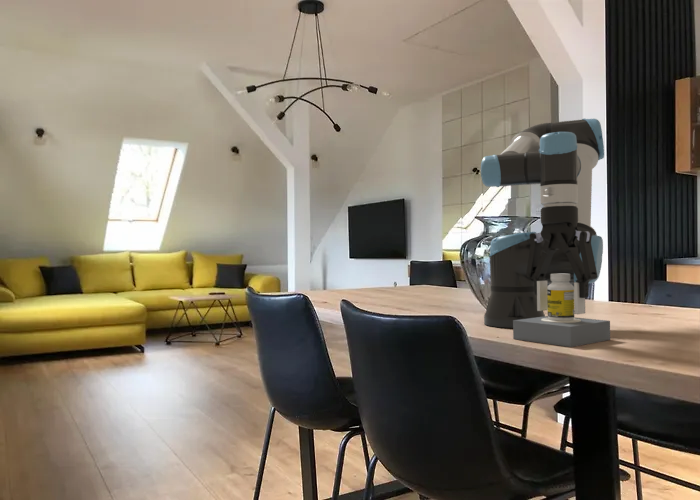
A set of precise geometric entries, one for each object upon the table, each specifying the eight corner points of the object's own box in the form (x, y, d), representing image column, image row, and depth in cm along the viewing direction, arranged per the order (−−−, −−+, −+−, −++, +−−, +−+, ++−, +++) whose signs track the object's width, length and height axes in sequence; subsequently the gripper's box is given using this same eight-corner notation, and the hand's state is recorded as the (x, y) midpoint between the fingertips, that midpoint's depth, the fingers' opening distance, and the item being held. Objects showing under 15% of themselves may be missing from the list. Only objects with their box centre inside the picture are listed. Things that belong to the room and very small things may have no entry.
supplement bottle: (542, 319, 127) (541, 273, 127) (562, 317, 129) (561, 272, 129) (559, 321, 122) (559, 274, 122) (580, 320, 124) (579, 273, 124)
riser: (513, 338, 127) (513, 319, 127) (553, 332, 136) (552, 314, 136) (570, 347, 116) (570, 325, 116) (610, 339, 124) (609, 319, 124)
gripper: (507, 208, 132) (509, 309, 132) (594, 201, 115) (596, 317, 115) (529, 209, 137) (530, 307, 137) (615, 202, 119) (617, 314, 119)
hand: (560, 311), depth 126 cm, fingers open, 8 cm apart
